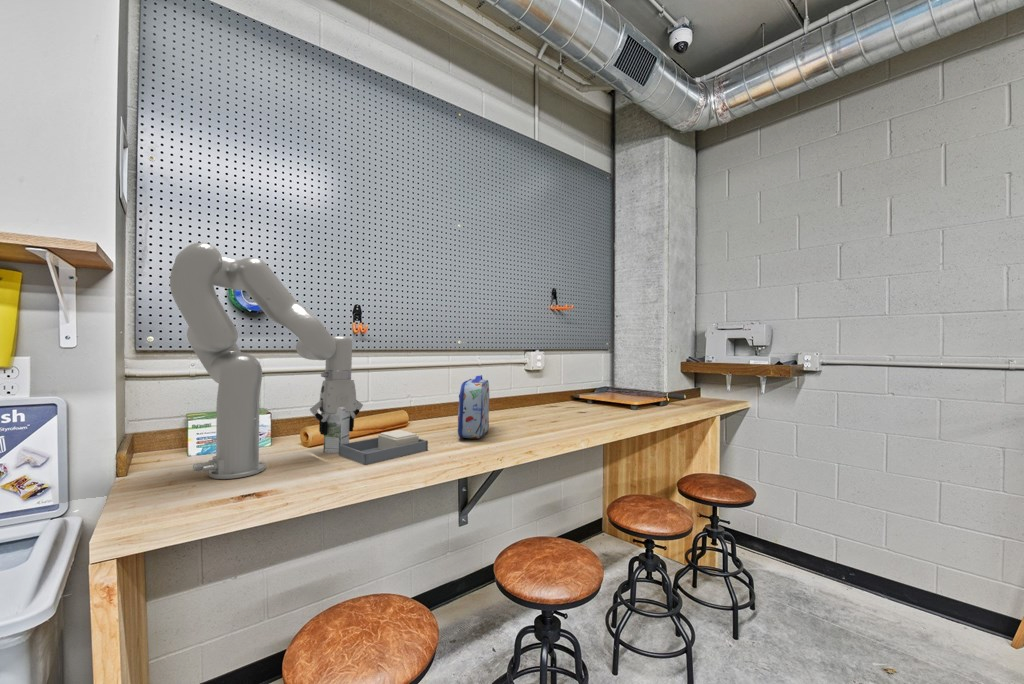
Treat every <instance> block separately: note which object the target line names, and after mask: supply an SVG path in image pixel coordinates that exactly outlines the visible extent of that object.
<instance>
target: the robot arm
mask: <svg viewBox="0 0 1024 684" xmlns="http://www.w3.org/2000/svg"><path fill="white" fill-rule="evenodd" d="M214 286H215V287H219V288H224V289H229V290H235V291H243V292H246V293H247V295H249V296H250V297H251V299H252V301H254V302H255V304H256V305H257V306H258V307H259V308H260V310H261V311H262V312H263V313H264V315H266V316H267V318H269V319H270V320H272V321H273V322H275V323H276V324H278V325H280V326H282V327H285V328H286V329H288V330H289V331H290V332H291V333H293V334H294V335H295V336H296V337H297V338H298V340H297V341H296V344H295V349H296V350H295V351H296V352H297V354H298V355H299V356H300V358H302V359H306V360H310V361H311V360H313V361H325V367H324V369H325V370H324V372H321V373H320V377H322V378H324V380H322V384H321V387H320V393H319V401H318V402H317V403H315V404H314V405H313V406H311V407H310V408H309V411H310V413H311V414H312V415H313V416H314V418H316V420H317V421H318V422H319V423H318V424H319V426H318V427H319V428H318V430H319V433H320V435H323V436H324V435H327V425H328V423H327V422H326V419H327V418H328V416H329V414H335V413H337V408H340V407H344V408H345V412H349V413H350V426H349V432H353V431H354V428H355V425H354V424H355V419H356V417H357V415H358V414H359V413H360V411H361V409H362V408H363V407H364V405H363V403H362V402H360V401H359V400H358V399H357V389H356V385H355V380H354V379H352V367H353V366H352V363H353V362H352V360H353V358H352V357H353V339H352V338H351V337H349V336H345V335H342V336H341V335H340V336H339V335H338V336H337V335H336V336H335V335H331V334H330V332H329V331H328V329H327V328H326V327H325V325H323V323H322V322H321V321H320V320H319V319H318V318H317V317H316V316H315V315H314V313H313V314H312V313H311V312H310V311H309V310H308V309H307V308H306V307H305V306H304V305H302V304H301V303H299V301H297V299H296V298H294V296H293V295H292V294H291V292H290V291H289V290H288V289H287V287H285V285H284V284H283V282H282V281H281V280H280V279H279V277H278V276H277V275H276V274H275V272H274V271H273V270H272V269H271V267H269V265H268V264H267V263H266V262H264V261H263V260H262V259H261V258H259V257H253V256H249V257H245V258H242V259H235V258H229V257H225V256H222V254H221V252H220V251H219V250H218V249H217V248H216V246H214V245H212V244H210V243H206V242H195V243H191V244H189V245H188V246H186V247H184V248H183V249H182V250H181V251H179V253H177V255H176V256H175V260H174V262H173V266H172V268H171V271H170V277H169V288H170V292H171V296H172V299H173V300H174V302H175V304H176V306H177V308H178V310H179V311H180V313H181V316H182V317H183V319H184V320H185V322H186V323H187V325H188V328H187V329H186V330H187V332H186V337H187V341H188V343H189V345H190V347H191V349H192V350H193V352H194V353H195V355H196V357H197V358H198V360H199V361H200V363H201V364H202V366H203V368H204V370H205V371H206V372H207V374H208V375H209V377H210V378H211V379H212V380H213V381H214V382H215V383H218V386H217V389H218V390H217V396H216V427H215V428H216V434H215V435H216V438H215V439H216V440H215V441H216V442H215V447H216V449H215V451H216V452H215V455H214V456H212V457H211V458H212V459H209V460H208V461H205V462H198V463H194V464H193V465H192V470H193V472H194V473H196V472H208V476H209V477H210V478H211V479H215V480H216V479H217V480H231V479H232V480H233V479H238V478H239V479H241V478H245V477H246V478H247V477H249V476H253V475H257V474H259V473H262V472H263V471H264V470H265V469H266V463H265V462H263V461H260V399H261V398H260V396H261V388H262V387H261V386H262V381H263V369H262V368H263V367H262V365H261V363H260V362H259V361H258V359H257V358H256V357H254V356H253V355H252V354H249V353H247V352H242V351H241V350H240V348H239V346H238V344H237V342H238V339H239V333H238V330H237V327H236V326H235V324H234V322H233V321H232V319H231V318H230V316H229V314H228V313H227V311H226V310H225V308H224V306H223V305H222V303H221V301H220V298H219V296H218V295H217V292H216V290H215V287H214ZM318 410H319V411H320V413H319V411H318ZM324 413H325V414H324Z"/></svg>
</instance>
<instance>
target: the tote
mask: <svg viewBox="0 0 1024 684" xmlns="http://www.w3.org/2000/svg"><path fill="white" fill-rule="evenodd" d="M428 445H429V440H426V439H422V438H419V441H418V442H417V443H412V444H407V445H403V446H398V447H393V448H389V449H384V450H380V449H378V437H373V438H369V439H363V440H361V439H360V440H356V441H352V442H351V441H350V442H349V443H345V444H340V445H339V453H338V455H339V456H340V457H344V458H345V459H348V460H351V461H354V462H357V463H360V464H361V465H364V466H367V465H371V464H375V463H380V462H384V461H390V460H392V459H393V460H395V459H397V458H403V457H407V456H410V455H415V454H419V453H423V452H426V451H428V449H429V446H428Z"/></svg>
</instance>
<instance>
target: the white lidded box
mask: <svg viewBox="0 0 1024 684" xmlns="http://www.w3.org/2000/svg"><path fill="white" fill-rule="evenodd" d="M377 438H378V449H380V450H384V449H389V448H393V447H398V446H403V445H407V444H412V443H417V442H418V441H419V439H420V438H419V435H418V434H417V433H414V432H411V431H406V430H403V429H397V430H396V429H395V430H391V431H385V432H380V433H379V434H378V435H377Z"/></svg>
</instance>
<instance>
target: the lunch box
mask: <svg viewBox="0 0 1024 684" xmlns="http://www.w3.org/2000/svg"><path fill="white" fill-rule="evenodd" d="M459 390H460V391H459V394H458V410H457V435H458V437H459V438H464V439H465V438H466V439H480V438H482V437H483V436H485V435H486V434H487V432H488V429H489V426H490V422H489V421H490V419H489V418H490V415H489V413H490V382H489V380H488V379H484V378H483V374H482V375H481V374H480V375H476V376H475V377H474V378H469V379H467V380H465V381H464V382H462V383H461V385H460V389H459Z"/></svg>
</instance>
